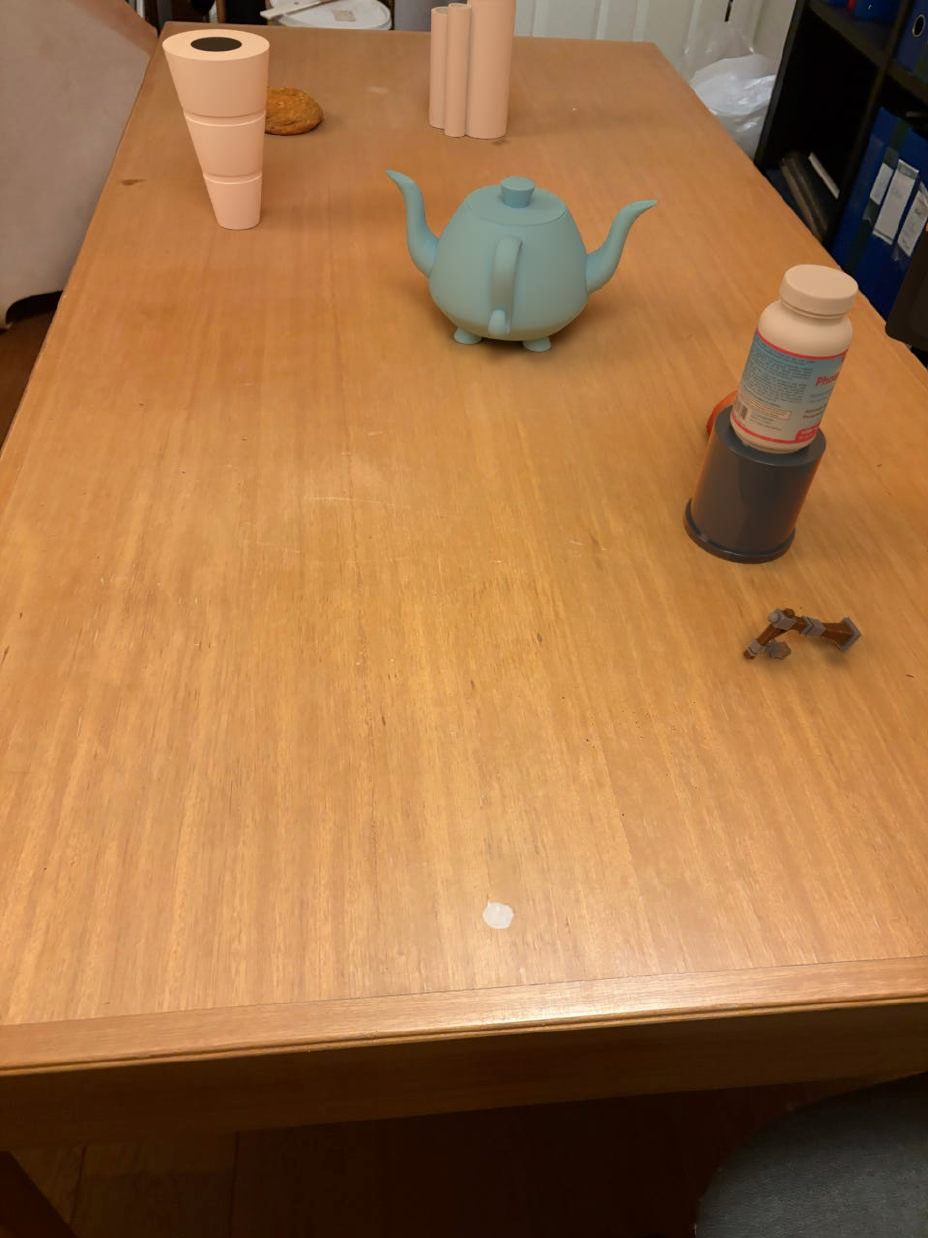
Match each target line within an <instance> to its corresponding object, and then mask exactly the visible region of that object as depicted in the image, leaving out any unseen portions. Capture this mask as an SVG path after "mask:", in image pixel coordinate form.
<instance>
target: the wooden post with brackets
mask: <svg viewBox="0 0 928 1238" xmlns="http://www.w3.org/2000/svg"><path fill="white" fill-rule="evenodd" d="M767 621H769V622H770V624H768V626H767V627H766V628H765V629H764V630H763V631H762V632H761V634H760V635H758V637H754V638H753V640H751V642H750V643H749V644H748V647H747V648H746V649H745V650H744V651H743V652H742V653H743V655H744V656H745V658H746V660H750V661H753V660H755V658H756V657H758V656H759V655H760V654H762V653H763V652H765V653H766V654H768V656H769V658H770V659H771V660H774V659H775V657H776V658H780V659H781V660H782V661H783V660H784V659H785V658H786V657H787V656H789V655H791V653H792V649H791V647H790V646H789V645H788V643H787V642H786V640H783V641H777V639H776V638H778V637H780V636H782V635H784V634H786V633H788V632H790V631H796V632H798V634H799V635H800V636H802V637H804V636H805V637H811V638H813V639H816V640H817V639H818V638H823V639H825V640H829V641H831V642H833V643H835V644H836V645H837V647H838V648H839V649H840V651H841V652H844V653H847V652H848V651H849V649H850V648H851V647H852V646H854V644H855V643H856V642H857V641H859V640H860V638H861V637H862V636H863V633H862V632H861V630H860V629H859V628H858V626H857V625H856V624H855V622H854V621H853V620H852V619H851V618H850V616H844V617H843V618H842V619H841V620H840V621H839V622H823V621H821V620H820V619H819V618H812V617H810V616H808V615H807V616H806V615H803V614H801V615H800V616H798V615H796V612H795V610H794V609H793V608H790V607H786V608H784V609H782V608H781V609H780V608H778V607H776V608H775V609H774V610H773V611H771V612H769V613H768V614H767Z"/></svg>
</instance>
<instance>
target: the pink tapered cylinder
mask: <svg viewBox="0 0 928 1238" xmlns="http://www.w3.org/2000/svg"><path fill="white" fill-rule="evenodd" d="M162 49H163V53H164V55H165V58H166V61H167V65H168V69H169V71H170V74H171V79H172V81H173V85H174V88H175V90H176V94H177V97H178V100H179V104H180V106H181V108H182V110H183V116H184V119H185V122H186V125H187V128H188V131H189V135H190V139H191V141H192V144H193V148H194V151H195V154H196V157H197V160H198V163H199V166H200V168H201V170H202V176H203V180H204V184H205V186H206V190H207V192H208V196H209V199H210V202H211V206H212V209H213V213H214V215H215V219H216V222H217V224H218V225H219V226H220V227H222V228H224V229H228V230H233V231H239V230H240V231H241V230H242V231H243V230H247V229H251V228H254V227H256V226H257V225H259V223H260V221H261V207H262V205H261V204H262V189H263V188H262V187H263V185H262V184H263V169H262V168H263V164H264V150H265V149H264V148H265V147H264V146H265V133H266V132H265V115H266V111H265V105H266V100H267V87H268V80H269V79H268V78H269V63H270V62H269V60H270V42H269V41H268V40H267V39H266V38H264V37H263V36H260V35H258V34H256V33H252V32H247V31H242V30H235V29H223V28H221V29H219V28H217V29H216V28H213V29H212V28H210V29H196V30H189V31H184V32H179V33H176V34H173V35H170V36H169V37H167V38H165V39H164V41H163V42H162Z"/></svg>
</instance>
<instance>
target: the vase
mask: <svg viewBox="0 0 928 1238" xmlns="http://www.w3.org/2000/svg"><path fill="white" fill-rule="evenodd" d="M516 10H517V0H466V3H462V2H461V3H460V2H454V3H449V4H448V5H447V6H436V7H433V8H431V16H430V51H429V52H430V54H429V55H430V56H429V57H430V60H429V98H428V99H429V102H428V103H429V104H428V109H429V111H428V124H429V126H431V127H433V128H436V129H441V130H443V134H444V135H445V136H447V137H450V138H462V137H465V135H466V136H468V137H471V138H475V139H480V140H491V139H492V140H494V139H498V138H501V137H504V136H505V135H506V134H507V126H508V113H509V101H510V100H509V99H510V87H511V75H512V74H511V73H512V62H513V48H514V38H515V37H514V36H515V24H516V23H515V22H516ZM432 118H433V119H432ZM443 121H444V122H443Z"/></svg>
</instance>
